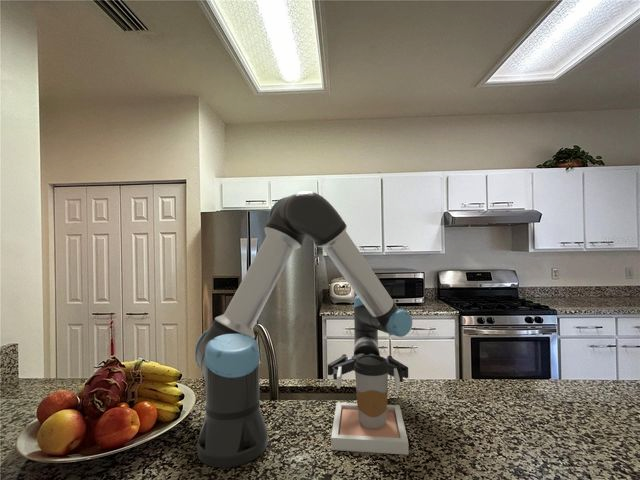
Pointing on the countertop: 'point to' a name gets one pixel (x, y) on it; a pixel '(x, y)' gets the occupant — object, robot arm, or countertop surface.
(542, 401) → the countertop surface
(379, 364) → the coffee cup
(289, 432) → the countertop surface
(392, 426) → the button
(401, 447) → the button housing
